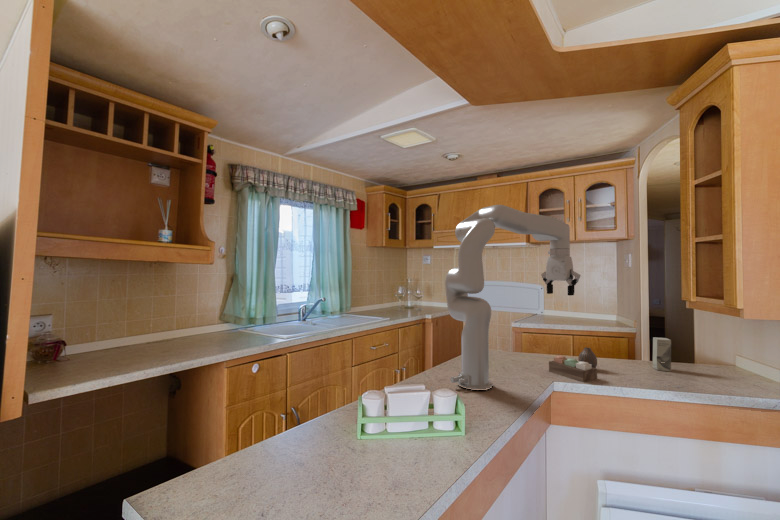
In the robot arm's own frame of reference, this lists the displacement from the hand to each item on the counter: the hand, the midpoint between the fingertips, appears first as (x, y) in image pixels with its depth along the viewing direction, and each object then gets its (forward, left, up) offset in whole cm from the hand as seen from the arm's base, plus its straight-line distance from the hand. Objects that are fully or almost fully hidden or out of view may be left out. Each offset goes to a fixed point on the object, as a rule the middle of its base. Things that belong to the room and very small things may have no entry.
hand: (560, 294), depth 149 cm
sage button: (-3, -8, -28) cm, 29 cm away
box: (+37, -19, -31) cm, 52 cm away
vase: (+10, -5, -31) cm, 33 cm away
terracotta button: (-3, -3, -28) cm, 28 cm away
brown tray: (-3, -7, -31) cm, 32 cm away
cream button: (-3, -12, -28) cm, 31 cm away
